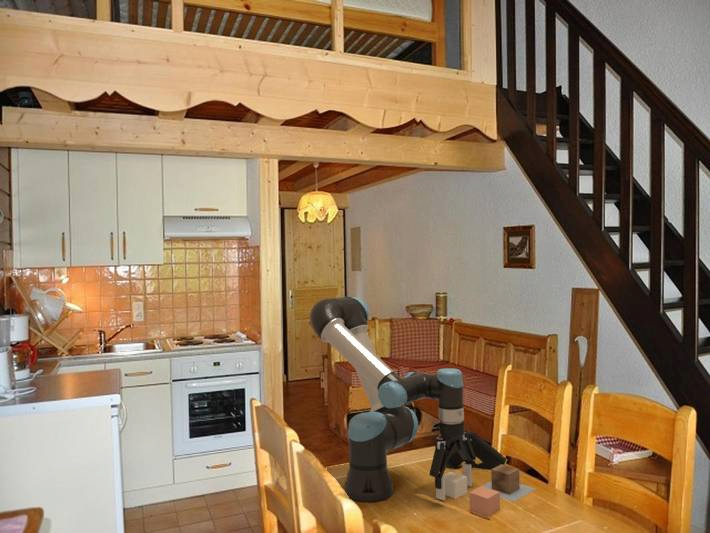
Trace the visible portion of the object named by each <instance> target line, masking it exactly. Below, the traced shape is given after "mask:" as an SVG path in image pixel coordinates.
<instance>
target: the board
mask: <svg viewBox="0 0 710 533" xmlns="http://www.w3.org/2000/svg"><path fill="white" fill-rule="evenodd" d="M482 486H483V487H486V488H489V489H492V482H491V480H490V481H488V482H486V483H485V484H483V485H482ZM492 490H493V489H492ZM534 490H536V487H532V486H529V485H526V484H522V483H520V489H518V490H516V491H515V492H513V493H511V494H510V495H509V494H506V493H502V492H500V499H504V500H506V501H510V502H513V503H514V502H516V501H518V500H520V499H522V498H523V497H525V496H527V494H530V493H531V492H533V491H534ZM495 491H496V490H495ZM498 492H499V491H498Z"/></svg>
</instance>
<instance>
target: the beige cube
mask: <svg viewBox="0 0 710 533" xmlns="http://www.w3.org/2000/svg"><path fill="white" fill-rule="evenodd" d="M442 477H444V479H445V497H446V496H447V497H450V498H453V499H457V498H460V497H461V496H464V495H466V494H468V486H467V477H466V476H463V474H459V473H457V472H456V473H455V472H452V471H449V472H447V473H445V474H443V476H442Z"/></svg>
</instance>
